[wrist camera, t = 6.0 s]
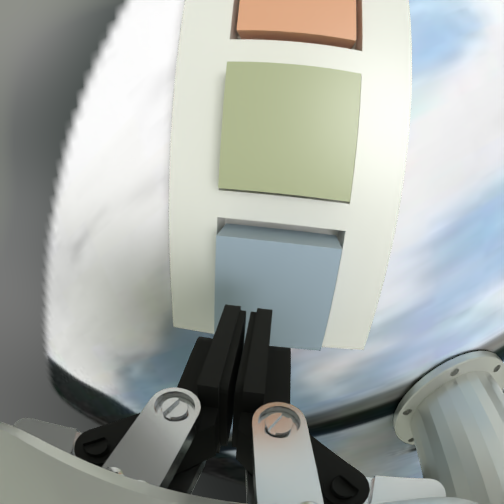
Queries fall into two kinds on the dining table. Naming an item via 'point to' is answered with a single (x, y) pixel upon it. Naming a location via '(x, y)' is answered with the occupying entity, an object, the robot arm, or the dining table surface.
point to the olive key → (289, 129)
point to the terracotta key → (299, 21)
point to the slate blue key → (278, 280)
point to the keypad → (284, 205)
